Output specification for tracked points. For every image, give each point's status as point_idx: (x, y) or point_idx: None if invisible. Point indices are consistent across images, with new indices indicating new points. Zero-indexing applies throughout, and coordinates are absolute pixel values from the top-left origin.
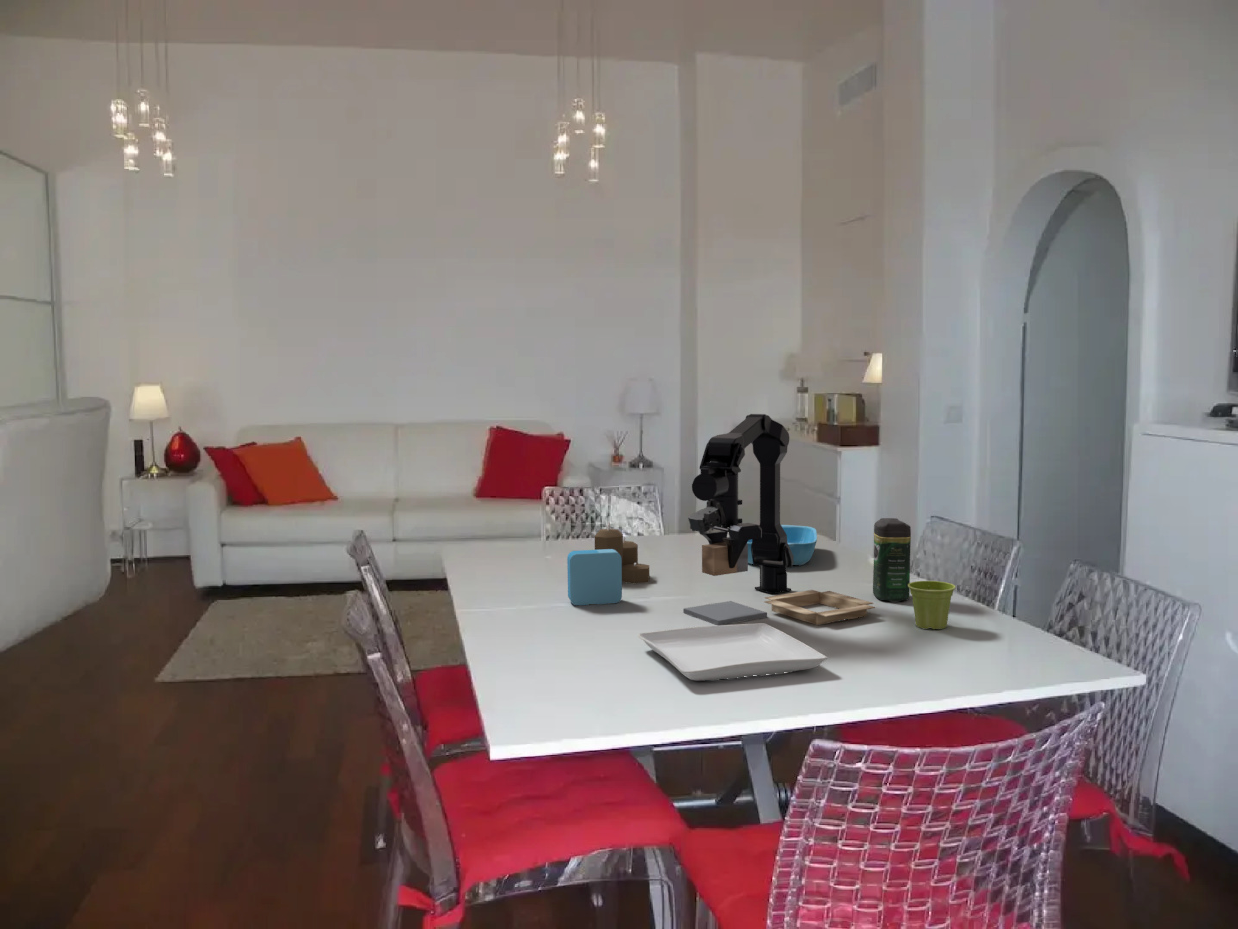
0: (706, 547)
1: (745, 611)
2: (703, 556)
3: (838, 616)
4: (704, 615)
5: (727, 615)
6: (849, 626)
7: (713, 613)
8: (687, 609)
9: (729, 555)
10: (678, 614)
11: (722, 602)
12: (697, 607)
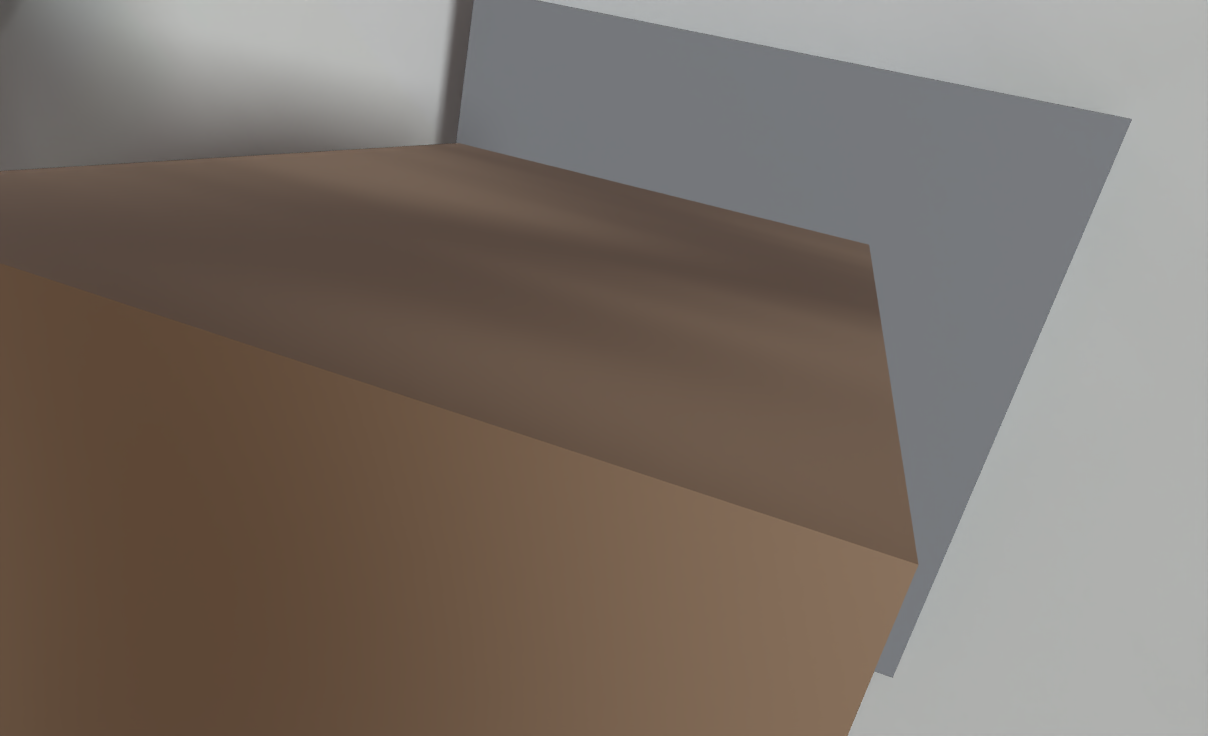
0: (428, 372)
1: None
2: (789, 317)
3: None
4: (711, 44)
5: None
6: None
7: (699, 182)
8: (1051, 113)
9: None
10: (1127, 23)
11: (920, 590)
12: (1007, 267)
